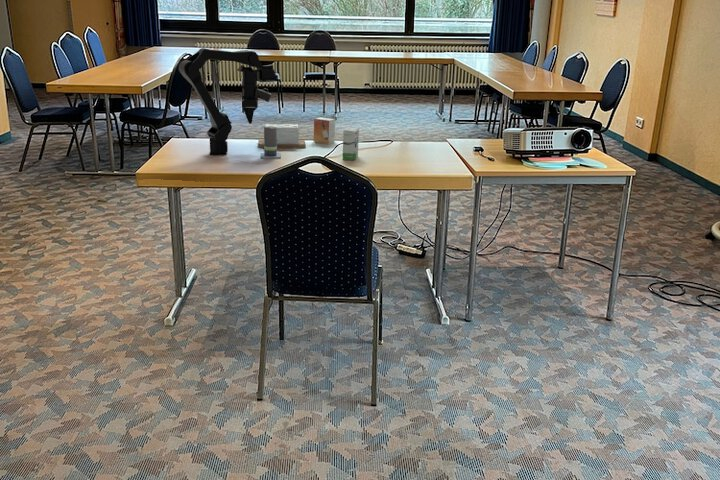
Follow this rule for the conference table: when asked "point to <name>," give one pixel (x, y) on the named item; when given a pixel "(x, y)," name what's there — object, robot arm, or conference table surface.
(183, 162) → the conference table surface
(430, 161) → the conference table surface
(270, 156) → the slate mat
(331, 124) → the small box
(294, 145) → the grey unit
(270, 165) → the conference table surface
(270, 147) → the cartridge
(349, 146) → the ink box
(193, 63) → the robot arm
